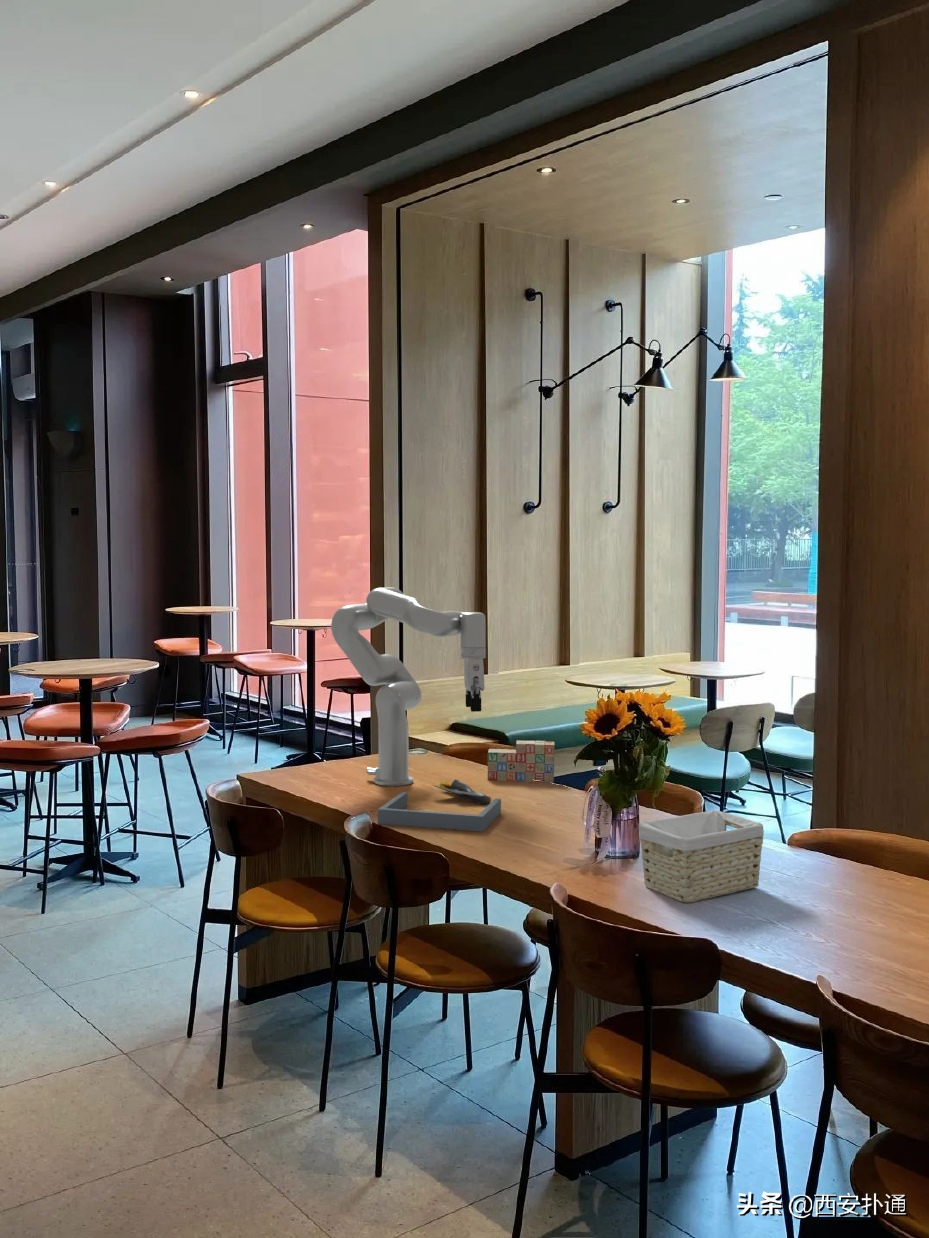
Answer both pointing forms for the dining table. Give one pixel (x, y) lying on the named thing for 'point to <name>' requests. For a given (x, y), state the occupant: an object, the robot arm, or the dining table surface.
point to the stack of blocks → (522, 762)
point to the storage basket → (701, 855)
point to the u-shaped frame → (436, 816)
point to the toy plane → (464, 792)
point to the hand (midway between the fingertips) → (473, 709)
